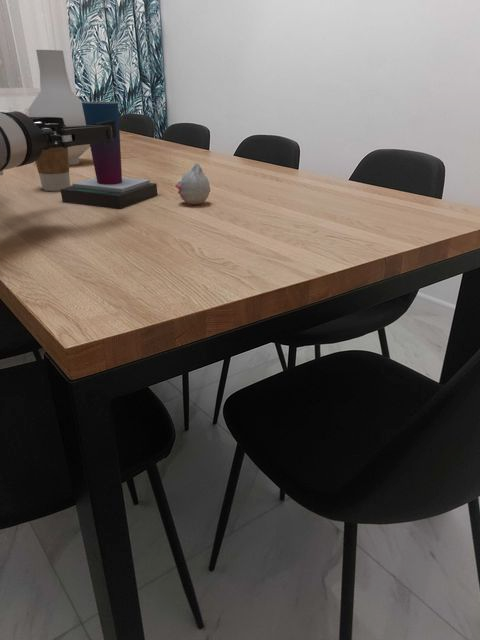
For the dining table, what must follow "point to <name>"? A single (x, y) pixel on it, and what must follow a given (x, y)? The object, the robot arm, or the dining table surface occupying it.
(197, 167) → the figurine
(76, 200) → the scale
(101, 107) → the cup
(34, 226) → the dining table surface
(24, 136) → the robot arm
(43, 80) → the vase
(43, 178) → the coffee cup
